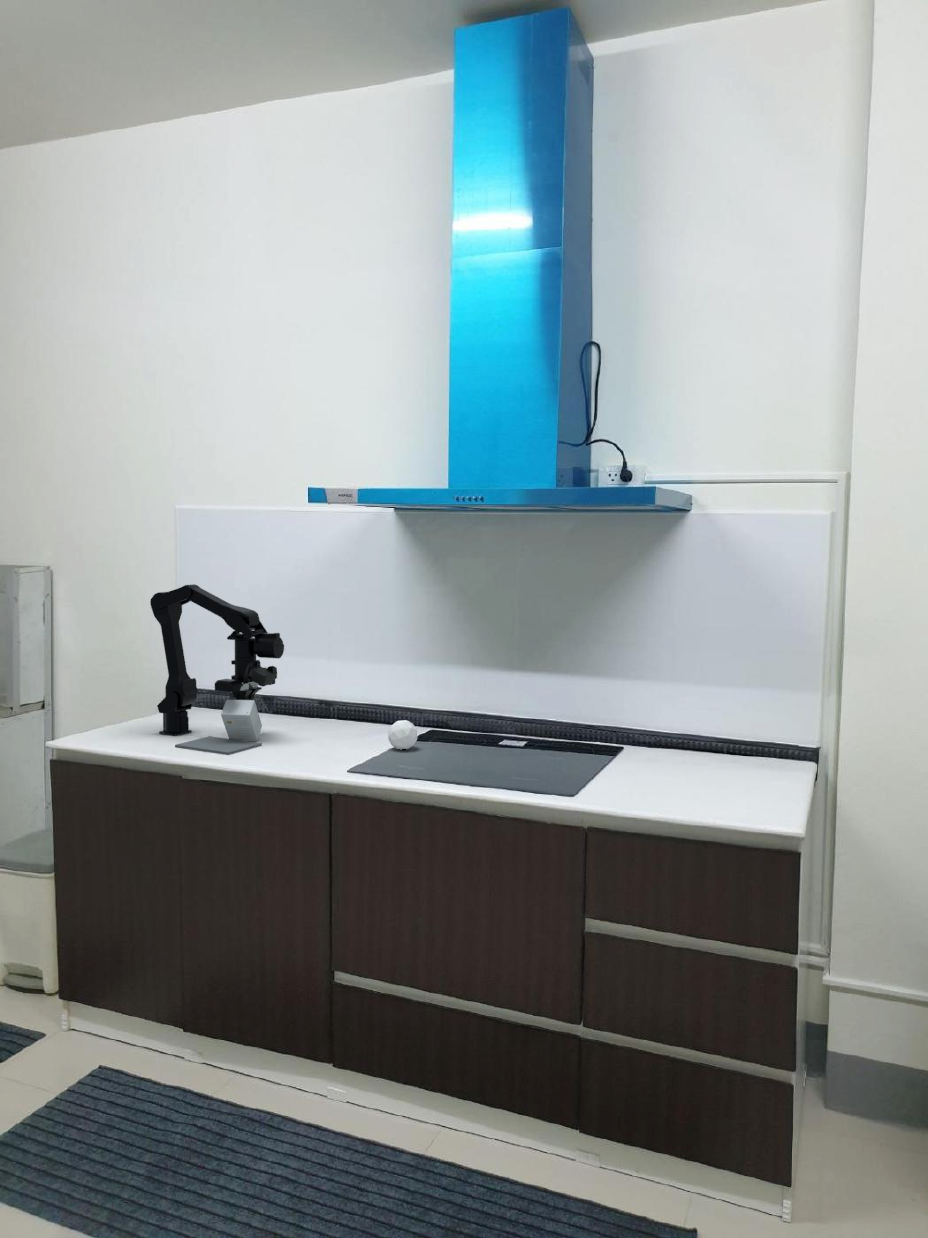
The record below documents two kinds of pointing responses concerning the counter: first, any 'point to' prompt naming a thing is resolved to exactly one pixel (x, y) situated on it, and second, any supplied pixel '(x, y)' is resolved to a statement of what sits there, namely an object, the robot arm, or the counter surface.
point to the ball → (402, 735)
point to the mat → (218, 745)
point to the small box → (241, 720)
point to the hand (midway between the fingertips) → (245, 713)
